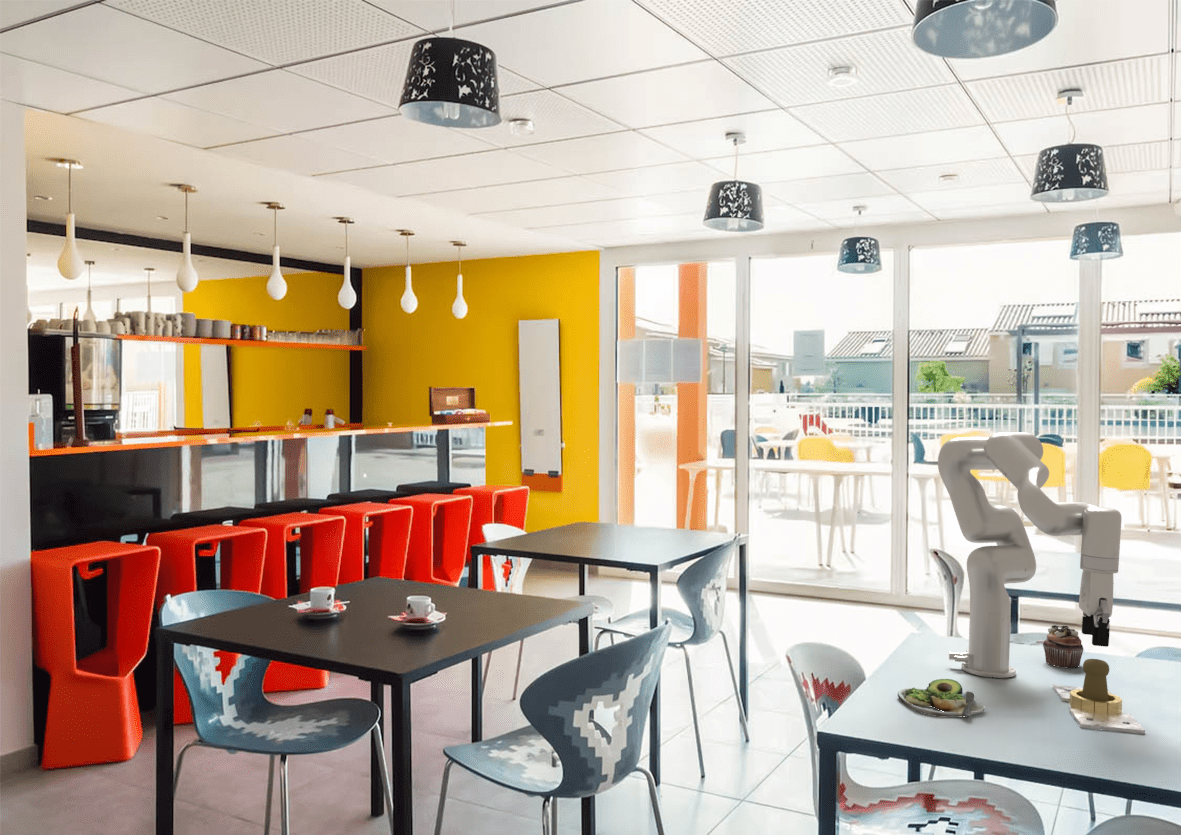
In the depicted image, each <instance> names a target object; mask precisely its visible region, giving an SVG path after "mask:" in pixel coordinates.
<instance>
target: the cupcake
mask: <svg viewBox="0 0 1181 835" xmlns="http://www.w3.org/2000/svg"><path fill="white" fill-rule="evenodd" d="M1047 631H1048V634H1047V635H1046V638H1045V639H1044V641H1043V642H1042V646H1043V651H1044V656H1045V662H1047V663H1049V664H1048V665H1050V664H1052V665H1055V666H1054V667H1056V666H1059V667H1058V668H1061V667H1067V668H1066V669H1075V668H1074V667H1078V666H1079V667H1080V666H1081V661H1082V656H1083V653H1084V646H1083V644H1082V639H1081V638H1080V636H1079V631H1078V630H1075V629H1074V628H1070V627H1069V626H1068V625H1062V626H1059V625H1057V624H1054V625H1052V626H1050V627H1049V628H1048V629H1047ZM1047 663H1046V664H1047ZM1052 665H1051V666H1052ZM1079 667H1078V668H1079Z"/></svg>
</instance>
